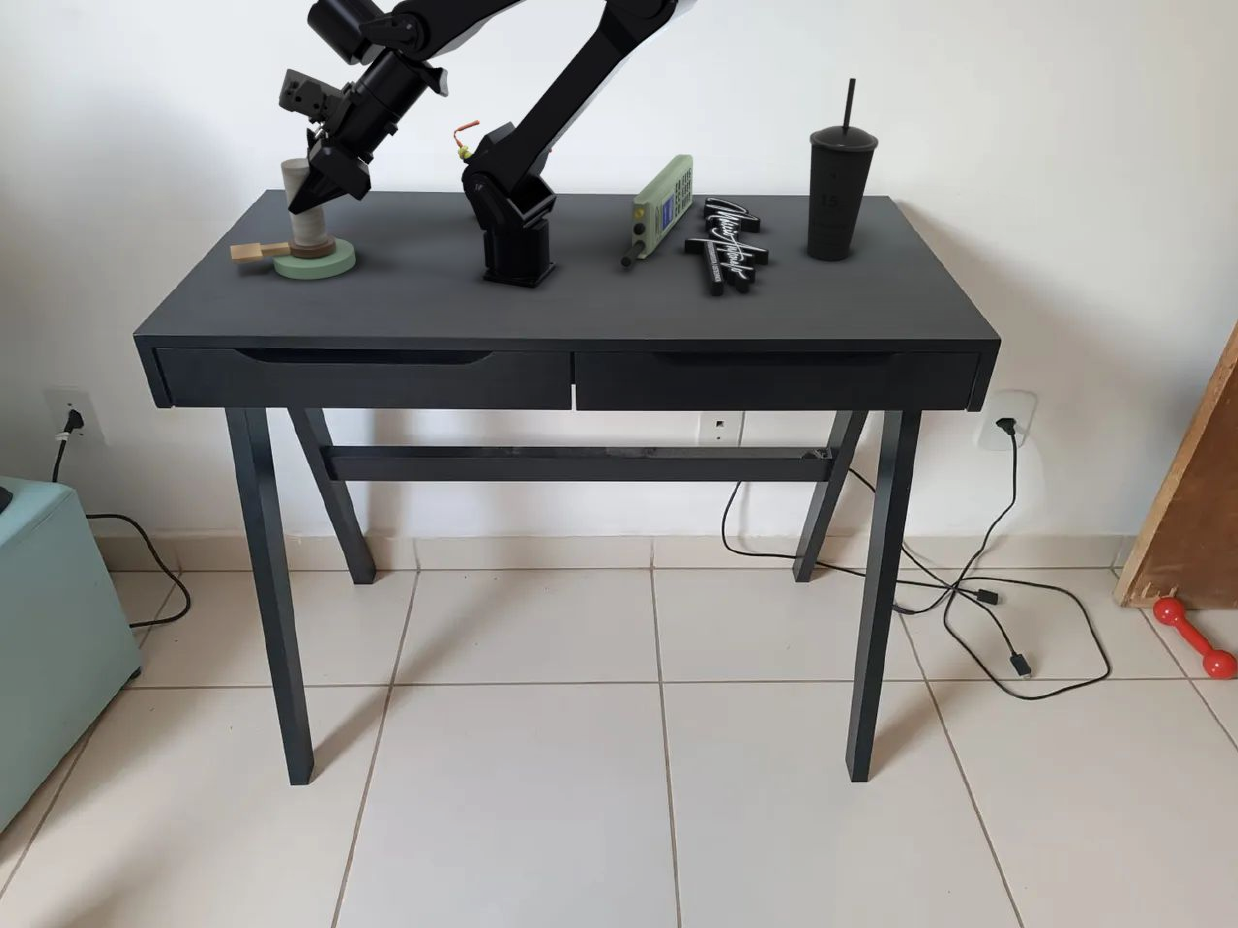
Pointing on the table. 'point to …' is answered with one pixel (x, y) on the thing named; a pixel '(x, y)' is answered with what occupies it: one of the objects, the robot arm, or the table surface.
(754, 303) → the table surface
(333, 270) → the stand
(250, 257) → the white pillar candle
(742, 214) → the nameplate
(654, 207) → the handheld radio
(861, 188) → the drinking cup
